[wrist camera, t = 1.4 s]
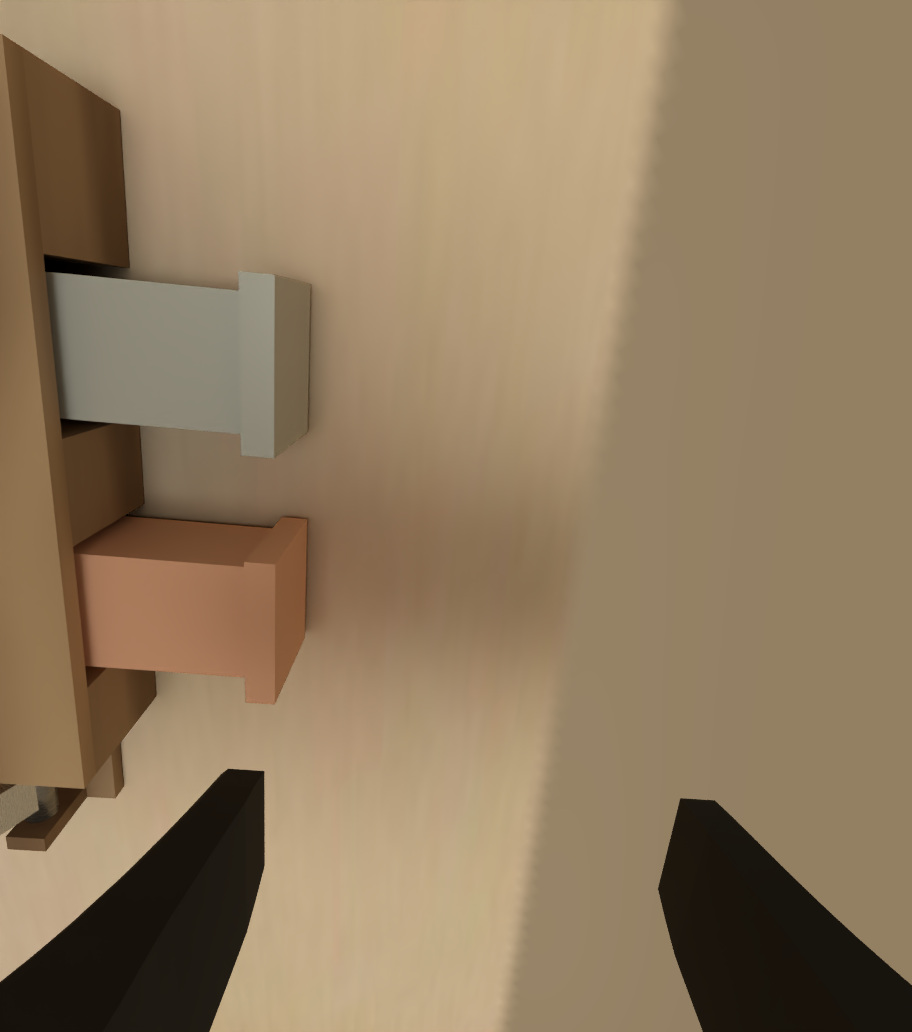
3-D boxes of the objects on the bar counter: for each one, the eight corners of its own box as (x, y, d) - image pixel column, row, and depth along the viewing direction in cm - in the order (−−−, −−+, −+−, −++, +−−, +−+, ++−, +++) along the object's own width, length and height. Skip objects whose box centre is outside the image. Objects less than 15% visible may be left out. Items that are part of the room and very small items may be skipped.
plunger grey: (310, 284, 17) (274, 274, 14) (307, 431, 19) (273, 458, 15) (68, 260, 17) (-34, 244, 13) (81, 411, 18) (-9, 433, 15)
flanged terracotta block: (307, 519, 19) (275, 564, 16) (304, 637, 21) (274, 704, 17) (91, 501, 19) (8, 543, 16) (102, 622, 20) (27, 687, 17)
